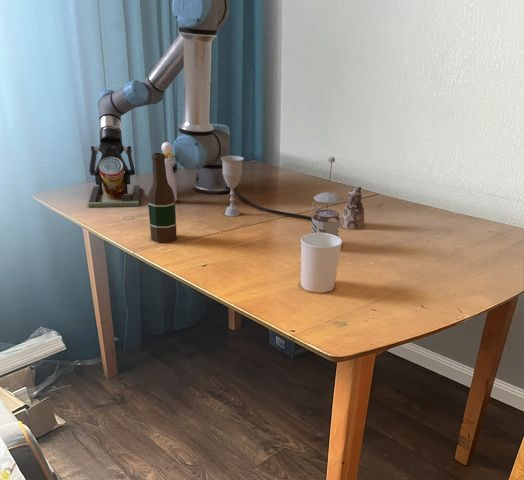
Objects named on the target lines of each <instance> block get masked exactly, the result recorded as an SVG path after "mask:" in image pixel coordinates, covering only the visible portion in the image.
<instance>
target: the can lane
mask: <svg viewBox="0 0 524 480" xmlns="http://www.w3.org/2000/svg"><path fill="white" fill-rule="evenodd" d="M140 190H141V187H140V184H139V185H137V184H136V185H133V194H132V200H130V201H129V200H128V201H127V200H126V201H98V199H99V195H100V193H99V185H94V186H93V187H92V191H91V194H90V198H89V201H88V208H118V207H119V208H124V207H125V208H127V207H140Z"/></svg>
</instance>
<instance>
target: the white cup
mask: <svg viewBox="0 0 524 480" xmlns="http://www.w3.org/2000/svg"><path fill="white" fill-rule="evenodd" d="M342 244H343V240H342V239H341V237H339V236H338V237H337V236H335V235H332V234H327V233H318V232H317V233H312V232H311V233H310V232H309V233H306V234H304V235H302V236H301V238H300V286H301V288H302V289H304V290H305V291H308V292H309V293H310V292H311V293H318V294H321V293H324V294H325V293H329V292H331V291H333V289H334V288H335V284H336V281H337V280H336V279H337V274H338V268H339V262H340V256H341V251H342V246H343V245H342Z"/></svg>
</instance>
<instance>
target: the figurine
mask: <svg viewBox="0 0 524 480" xmlns="http://www.w3.org/2000/svg"><path fill="white" fill-rule="evenodd" d="M361 190H362V187H361V186H358V187H357V188H356V187H353V188H351V189H350V191H349V192H348V195H347V201H346V203H345V205H344V207H343V212H342V216H341V221H340V223H341V226H342V228H344V229H348V230H360V229H362V228H364V224H365V207H364V204H363V203H362V198H363V197H362V196H363V195H362V191H361Z"/></svg>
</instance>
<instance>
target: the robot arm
mask: <svg viewBox="0 0 524 480" xmlns="http://www.w3.org/2000/svg"><path fill="white" fill-rule="evenodd" d="M230 5H231V4H230V0H172V1H171V8H172V14H173V17H174V18H175V20H176V22H177V23H178V36H177V37H176V38H175V39H174V41H173V42H172V44H171V45H170V46H169V47H168V49H167V50H166V51H165V52H164V54H163V55H162V56H161V58H160V59H159V61H158V62H157V63H156V65H155V66H154V67H153V68H152V70H151V71H150V72H149V74H148V75H147V76H146V77H145V79H144V80H143V81H139V79H132V80H130V81H128V82H126V83H125V84H124V85H122V86H121V87H120V88H118V89H117V90H114V89H103V90H101V91H100V92H99V93H98V96H97V98H98V99H97V109H98V110H97V111H98V129H99V130H98V131H99V145H98V146H93V145H92V146H90V150H91V157H90V162H89V168H88V171H89V175H90V176H94V182H95V186H99V195H100V196H102V195H103V185H102V179H101V174H100V169H99V163H100V161H101V160H103V159H104V158H107V157H115V158H118V159H119V160H121V162H122V164H123V169H124V185H125V195H128V192H129V191H128V185H131V176H135V175H136V169H135V166H134V160H133V157H132V146H130V145H128V146H124V144H123V135H122V116H123V115H125V114H127V113H128V112H130V111H132V110H133V109H136V108H141V107H145V106H149V105H156V104H158V103H160V102H162V101H163V100H164V99H165V96H166V91H167V89H168V88H169V87H170V86H171V84H173V82H175V81H174V80H176V78H177V77H178V76H179V75H180V73H181V72H182V71H183V118H182V119H183V120H182V122H180V123H179V125H178V136H177V138H176V139H175V140H174V142H173V145H172V152H173V153H176V157H174V160H175V161H176V162H177V163H178V164H179V165H180V167H182V168H184V169H185V170H188V171H195V170H197V172H196V175H195V177H194V178H195V179H194V182H193V185H194V186H193V188H194V190H195V191H197V192H199V193H203V194H211V195H213V194H214V195H216V194H217V195H219V194H228V193H230V192H231V188H230V187H228V186H227V184H226V181H225V179H224V176H223V162H222V160H221V157H223V156H231V154H230V152H231V134H230V132H231V131H230V127H229V126H228V125H226V124H220V123H210V108H211V107H210V103H211V75H212V73H211V72H212V70H211V69H212V42H213V40H215V38H216V37H217V35H218V34H217V33H218V32H219V31H220V29H221V28H222V27H223V25H224V24H225V23H226V21H227V20H228V17H229V15H230V9H231V6H230ZM99 152H100V153H101V156H100V159H99V161H98V163H97V155H98V154H99ZM123 152H124V153H125V155H127V160H128V164H129V168H130V169H129V168H128V166H127V164H126V161H125V160H124V159H123V156H122V154H123ZM96 163H97V165H96ZM235 189H236V187H235V188H234V193H235V194H234V196H237V197H238V198H240V200H242V201H244V202H245V203H246V204H248V205H250V206H253V207H254V208H256V209H259V210H261V211H264V212H267V213H268V212H269V213H272V214H278V215H282V216H289V217H294V218H300V219H306V220H311V221H313V220H312V217H313V216H309V215H304V214H299V213H292V212H287V211H282V210H281V211H280V210H275V209H271V208H267V207H265V206H264V207H263V206H260V205H258V204H256V203H253V202H252V201H250V200H248V199H247V198H245V197H244V196H243V195H241V194H239V192H237V191H236V190H235ZM318 220H319V222H320V218H318Z"/></svg>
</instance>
